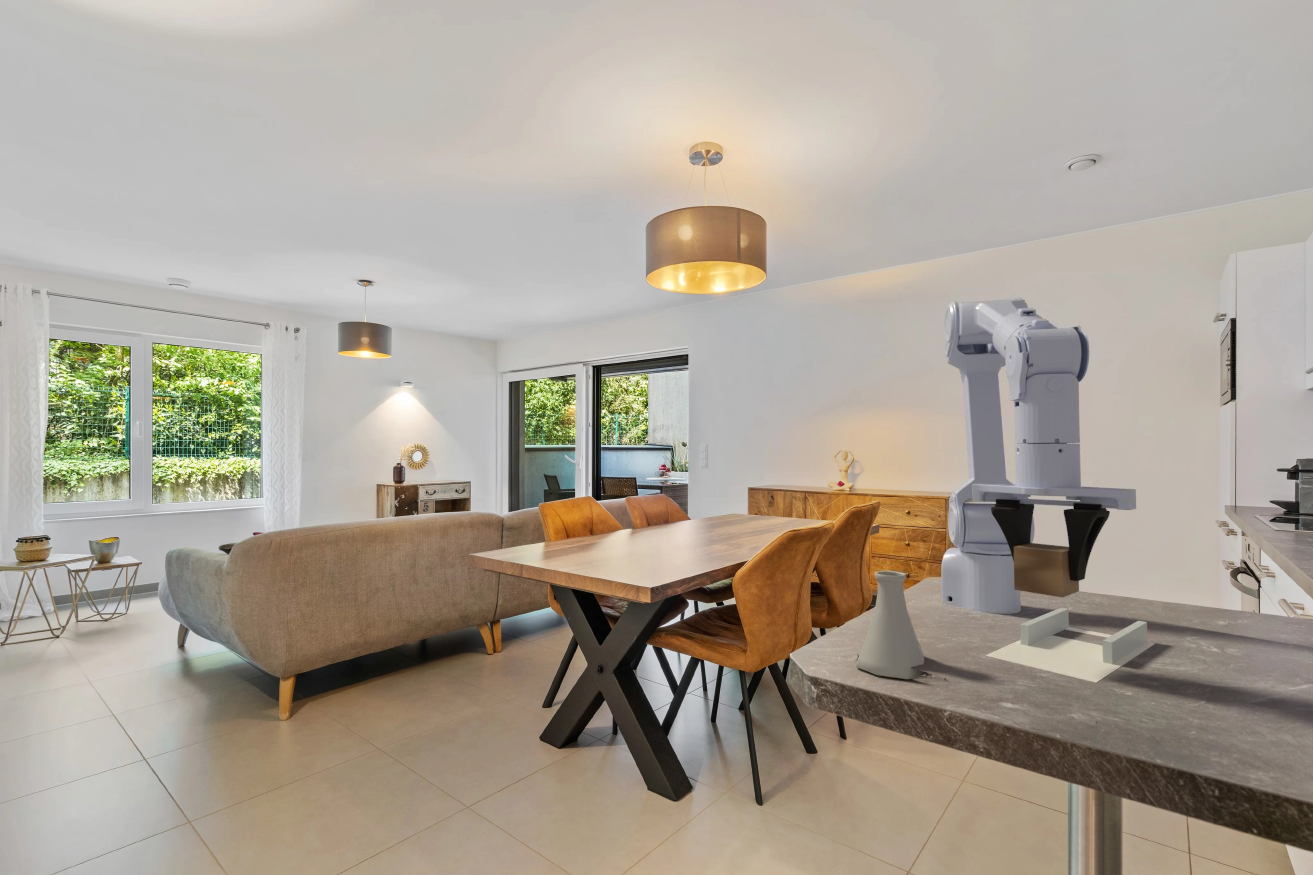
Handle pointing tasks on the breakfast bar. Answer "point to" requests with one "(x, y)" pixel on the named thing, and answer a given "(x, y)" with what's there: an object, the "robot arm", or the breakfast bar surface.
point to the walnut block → (1043, 570)
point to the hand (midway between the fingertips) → (1049, 575)
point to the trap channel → (1073, 648)
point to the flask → (891, 633)
